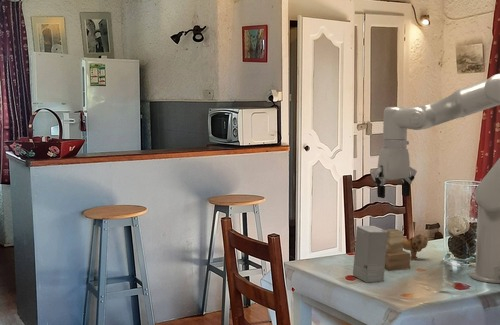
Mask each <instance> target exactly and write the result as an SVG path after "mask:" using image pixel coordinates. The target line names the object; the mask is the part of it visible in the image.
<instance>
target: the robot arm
mask: <svg viewBox="0 0 500 325" xmlns="http://www.w3.org/2000/svg"><path fill="white" fill-rule="evenodd" d="M497 106H500V73H496V74H494V75H492V76H490V77H489V78H487V79H484V80H482V81H479V82H476V83H474V84H471V85H469V86H468V85H467V86H465V87H462V88H458V89H457V90H455V91H453V93H451V94H450V95H448V96H446V97H444V98H441V99H439V100H437V101H436V100H435V101H433V102H431V103H428V104H424V105H417V106H409V107H405V106H387V107H385V109H384V110H383V123H382V124H383V127H382V130H383V132H382V138H383V139H382V148H380V151H379V154H378V155H379V156H378V161H377V168H375V169H374V170H372V171H371V172H370V175H371V177H372V180H373V182H374V183H375V185H376V189H377V191H376V192H377V194H376V195H377V198H381V199H385V198H386V186H385V183H386V182H387V181H393V180H394V181H395V180H401V181H402V182H403V183H402V185H401V195H402V196H404V197H410V192H411V189H410V188H411V185H412V183H413V181H414V180H415V176H416V174H417V172H418V171H417V170H416V169H415V168H413V167H412V166H411V162H410V161H411V160H410V155H409V154H410V153H409V149H408V148H407V146H408V145H409V144H410V141H409V140H407V137H408V130H413V131H419V130H420V131H421V130H427V129H430V128H432V127H436V126H439V125H441V124H445V123H448V122H450V121H453V120H457V119H460V118H465V117H468V116H470V115H471V116H472V115H473V114H476V113H479V112H482V111H484V110H488V109H491V108H494V107H497ZM474 199H475V203H476V204H477V206H478V208H477V223H476V240H475V244H476V246H475V267H474V269H472V270H470V272H469V276H470V277H471V278H472V279H473V280H476V281H480V282H484V283H491V284H500V157H499V158H498V159H497V161H496V162H495V163H494V165H492V167H491V168H490V170H489V171H488V172H487V173H486V175H485V176H484V177H483V178H482V180H481V181H480V182H479V183H478V185H477V187H476V188H475V191H474Z"/></svg>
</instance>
